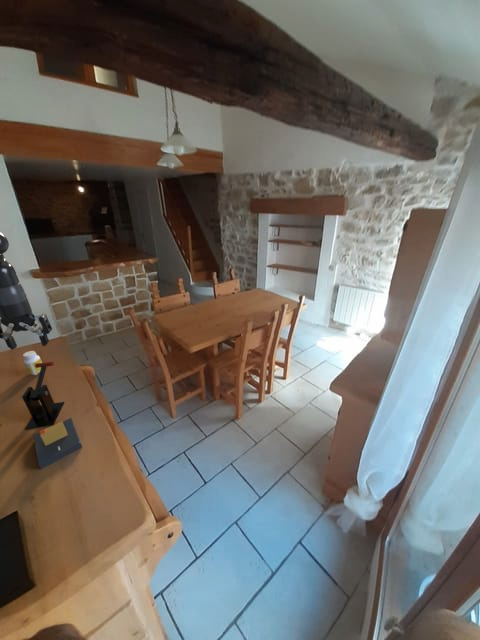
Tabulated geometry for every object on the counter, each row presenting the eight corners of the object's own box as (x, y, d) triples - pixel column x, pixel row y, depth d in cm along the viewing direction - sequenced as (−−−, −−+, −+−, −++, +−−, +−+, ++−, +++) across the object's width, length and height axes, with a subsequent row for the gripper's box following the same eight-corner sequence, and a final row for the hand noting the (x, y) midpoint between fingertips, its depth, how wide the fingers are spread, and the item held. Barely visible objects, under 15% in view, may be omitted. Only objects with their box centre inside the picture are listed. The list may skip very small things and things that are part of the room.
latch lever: (38, 365, 88) (34, 362, 86) (54, 363, 89) (51, 360, 87) (28, 401, 80) (23, 398, 78) (46, 399, 81) (42, 396, 79)
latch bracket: (39, 408, 88) (27, 382, 83) (65, 404, 90) (54, 378, 85) (26, 431, 80) (11, 404, 74) (54, 426, 81) (42, 399, 76)
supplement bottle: (46, 367, 108) (38, 348, 104) (44, 374, 104) (35, 355, 99) (31, 370, 106) (22, 351, 102) (28, 378, 102) (18, 358, 97)
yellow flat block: (66, 431, 76) (61, 420, 74) (67, 435, 75) (62, 424, 73) (44, 442, 73) (39, 431, 71) (45, 446, 72) (39, 434, 70)
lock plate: (83, 449, 75) (80, 442, 73) (42, 471, 69) (38, 463, 67) (74, 424, 82) (71, 417, 81) (36, 441, 77) (32, 434, 75)
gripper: (-29, 306, 68) (-4, 356, 75) (33, 302, 71) (51, 350, 79) (-12, 296, 74) (9, 343, 82) (43, 293, 78) (59, 337, 85)
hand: (30, 346), depth 80 cm, fingers open, 8 cm apart
